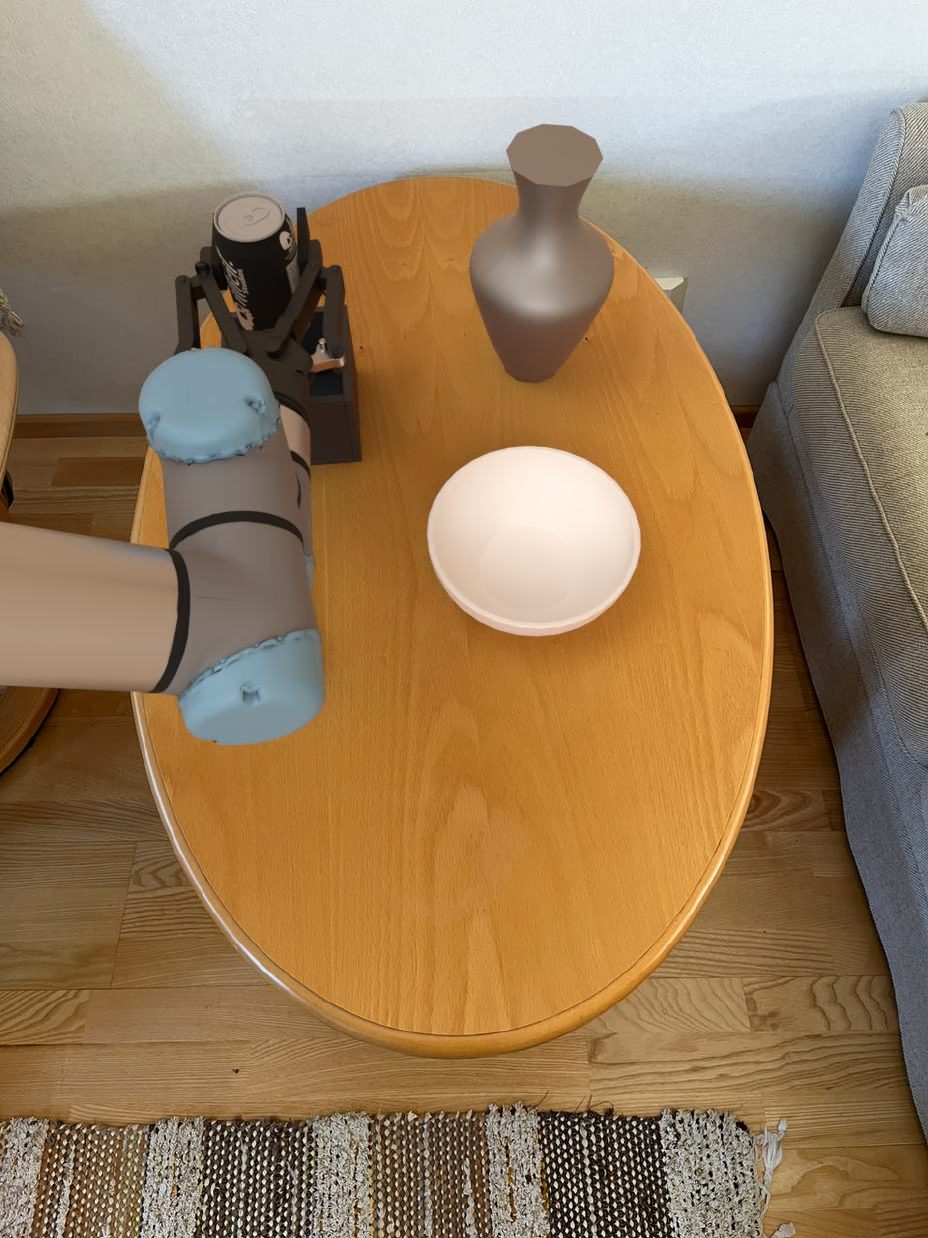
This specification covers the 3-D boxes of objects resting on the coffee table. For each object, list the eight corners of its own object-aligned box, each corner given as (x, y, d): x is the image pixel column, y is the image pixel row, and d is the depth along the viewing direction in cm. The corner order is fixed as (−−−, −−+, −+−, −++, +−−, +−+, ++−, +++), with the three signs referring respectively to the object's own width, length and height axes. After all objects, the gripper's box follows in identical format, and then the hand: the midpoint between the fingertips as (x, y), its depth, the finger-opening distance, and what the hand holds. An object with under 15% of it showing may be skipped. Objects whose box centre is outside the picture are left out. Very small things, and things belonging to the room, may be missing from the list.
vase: (596, 319, 98) (639, 107, 75) (592, 416, 91) (636, 216, 69) (473, 308, 98) (479, 94, 76) (460, 404, 92) (463, 201, 70)
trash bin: (241, 470, 88) (218, 409, 79) (243, 378, 93) (221, 312, 85) (361, 461, 88) (351, 400, 80) (356, 370, 94) (346, 303, 85)
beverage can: (228, 326, 79) (191, 214, 68) (282, 290, 81) (254, 176, 70) (273, 364, 77) (242, 255, 66) (327, 326, 79) (306, 214, 68)
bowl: (652, 638, 80) (670, 604, 73) (451, 679, 78) (451, 647, 71) (594, 473, 88) (605, 429, 82) (412, 506, 86) (408, 463, 80)
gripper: (148, 467, 67) (164, 264, 78) (390, 448, 68) (375, 251, 79) (114, 404, 61) (136, 191, 71) (383, 385, 62) (367, 177, 72)
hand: (262, 223), depth 75 cm, fingers closed on beverage can, 7 cm apart
